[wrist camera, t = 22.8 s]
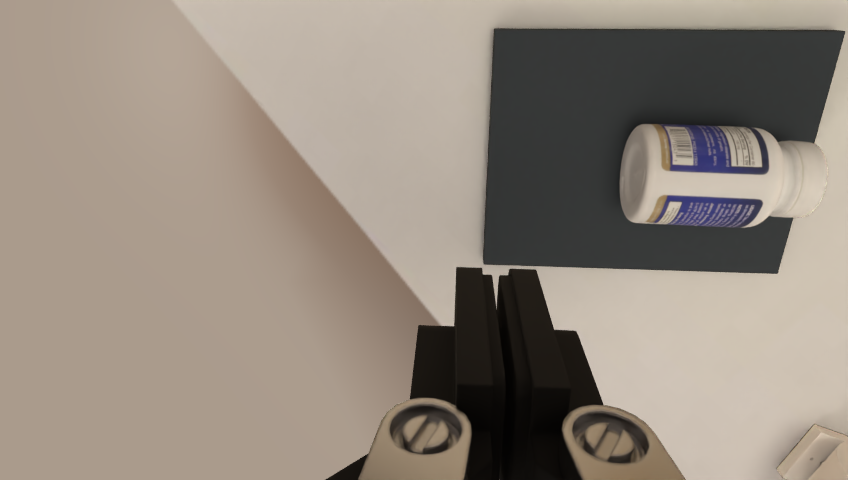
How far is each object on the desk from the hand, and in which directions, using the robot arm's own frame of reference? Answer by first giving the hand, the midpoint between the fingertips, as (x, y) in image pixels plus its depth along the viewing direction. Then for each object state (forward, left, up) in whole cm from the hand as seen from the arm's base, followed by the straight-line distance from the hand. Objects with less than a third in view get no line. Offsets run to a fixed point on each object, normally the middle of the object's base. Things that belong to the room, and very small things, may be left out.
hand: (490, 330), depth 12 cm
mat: (+10, -2, -23) cm, 25 cm away
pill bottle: (+8, -2, -19) cm, 21 cm away
